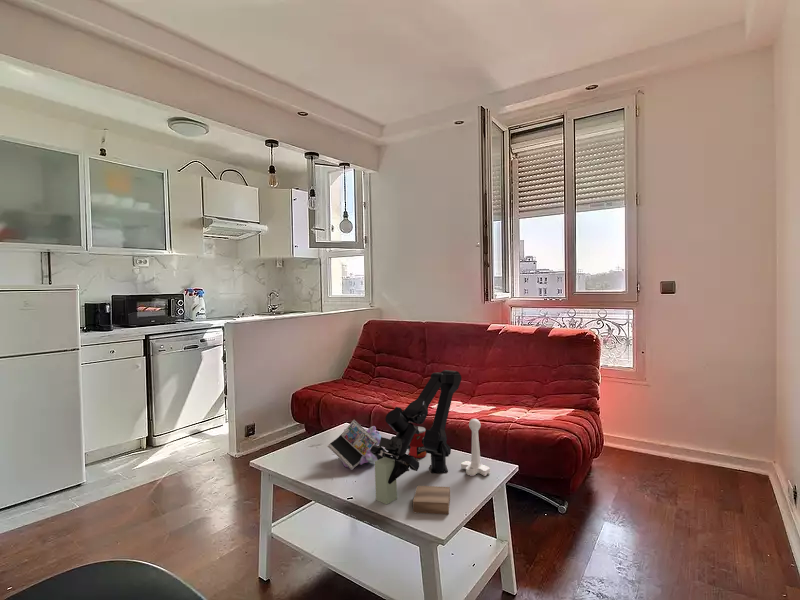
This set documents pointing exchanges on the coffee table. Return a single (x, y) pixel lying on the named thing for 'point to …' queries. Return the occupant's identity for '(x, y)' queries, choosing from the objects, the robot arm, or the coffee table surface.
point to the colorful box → (355, 445)
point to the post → (385, 480)
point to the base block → (431, 500)
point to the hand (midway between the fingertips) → (382, 481)
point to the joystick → (475, 453)
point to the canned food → (418, 444)
